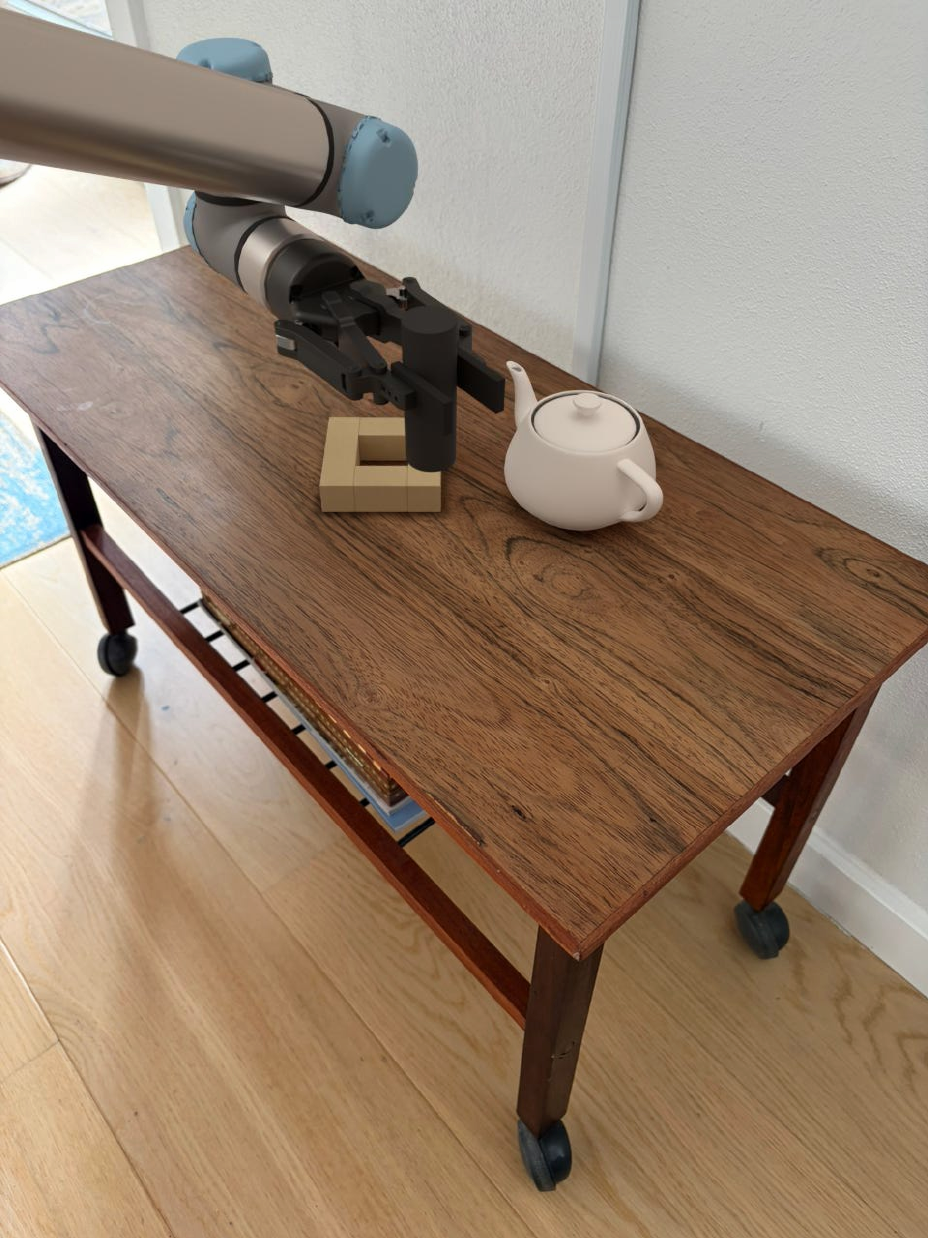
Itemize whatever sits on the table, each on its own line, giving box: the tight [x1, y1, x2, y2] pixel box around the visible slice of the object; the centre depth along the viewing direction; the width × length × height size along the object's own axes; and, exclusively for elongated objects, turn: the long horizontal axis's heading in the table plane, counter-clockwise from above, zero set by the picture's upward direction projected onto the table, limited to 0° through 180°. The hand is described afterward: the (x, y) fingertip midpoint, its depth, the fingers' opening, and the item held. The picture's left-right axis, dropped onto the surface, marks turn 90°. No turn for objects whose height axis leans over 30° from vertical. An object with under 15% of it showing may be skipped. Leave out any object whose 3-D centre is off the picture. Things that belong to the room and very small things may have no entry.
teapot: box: [503, 360, 664, 532], centre depth 91 cm, size 22×14×11 cm, turn 33°
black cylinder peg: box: [401, 306, 458, 472], centre depth 77 cm, size 4×4×12 cm
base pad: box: [318, 416, 442, 513], centre depth 96 cm, size 11×11×3 cm
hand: (474, 407), depth 73 cm, fingers closed on black cylinder peg, 4 cm apart
